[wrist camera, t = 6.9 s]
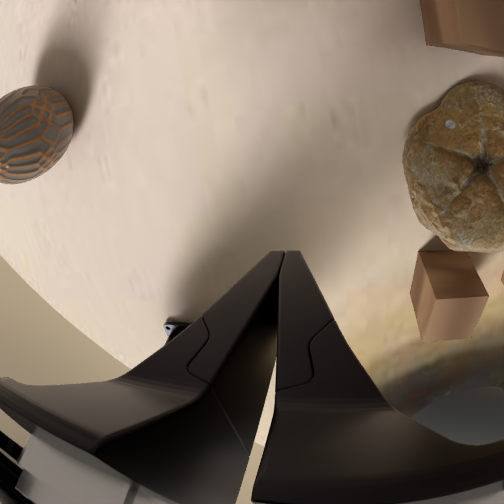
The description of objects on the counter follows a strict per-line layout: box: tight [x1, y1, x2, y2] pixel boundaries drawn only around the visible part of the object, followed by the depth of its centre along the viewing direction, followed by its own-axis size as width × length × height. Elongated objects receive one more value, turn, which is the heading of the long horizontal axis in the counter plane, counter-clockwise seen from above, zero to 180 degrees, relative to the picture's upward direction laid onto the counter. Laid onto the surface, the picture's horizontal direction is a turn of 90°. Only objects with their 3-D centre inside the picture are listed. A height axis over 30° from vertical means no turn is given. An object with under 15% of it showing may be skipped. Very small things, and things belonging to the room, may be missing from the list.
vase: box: [0, 86, 73, 184], centre depth 15 cm, size 7×7×9 cm
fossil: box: [402, 81, 504, 253], centre depth 14 cm, size 9×4×10 cm
